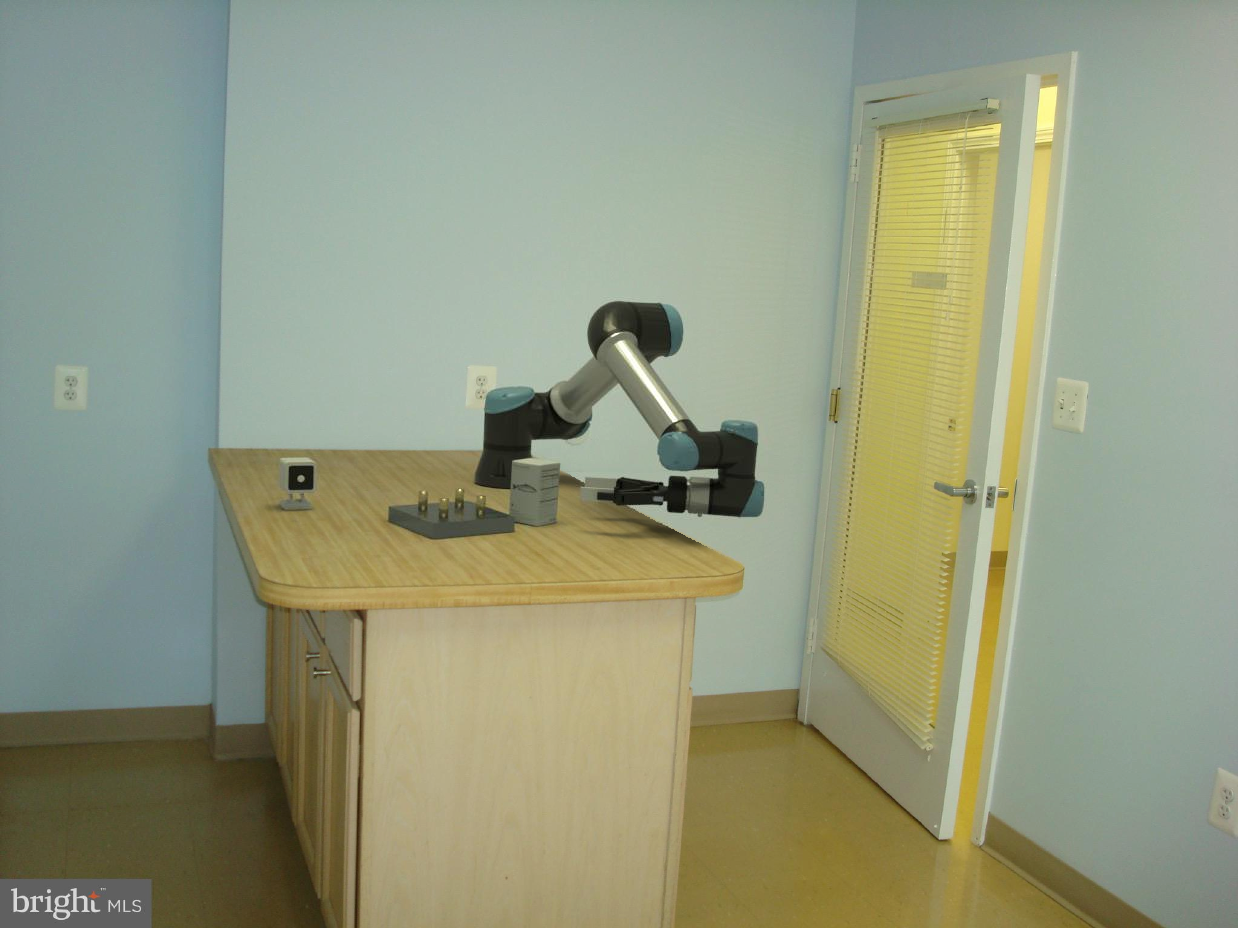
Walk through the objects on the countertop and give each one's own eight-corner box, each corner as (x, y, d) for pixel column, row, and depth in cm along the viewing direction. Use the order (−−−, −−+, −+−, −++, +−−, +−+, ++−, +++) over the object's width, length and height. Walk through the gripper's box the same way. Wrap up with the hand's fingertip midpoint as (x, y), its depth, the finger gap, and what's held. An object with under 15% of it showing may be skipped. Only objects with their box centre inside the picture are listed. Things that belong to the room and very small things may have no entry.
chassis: (467, 514, 240) (468, 483, 239) (514, 531, 226) (516, 498, 225) (388, 521, 228) (389, 488, 228) (432, 539, 215) (433, 504, 214)
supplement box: (507, 521, 235) (510, 460, 234) (529, 516, 242) (532, 457, 240) (537, 527, 232) (540, 464, 230) (558, 522, 238) (561, 461, 236)
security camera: (284, 511, 232) (285, 462, 231) (277, 505, 238) (278, 457, 237) (316, 510, 235) (317, 461, 233) (308, 504, 241) (309, 456, 240)
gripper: (687, 524, 223) (577, 517, 223) (684, 502, 247) (585, 496, 248) (689, 486, 222) (579, 479, 222) (686, 468, 246) (587, 461, 247)
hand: (582, 488), depth 235 cm, fingers open, 13 cm apart
